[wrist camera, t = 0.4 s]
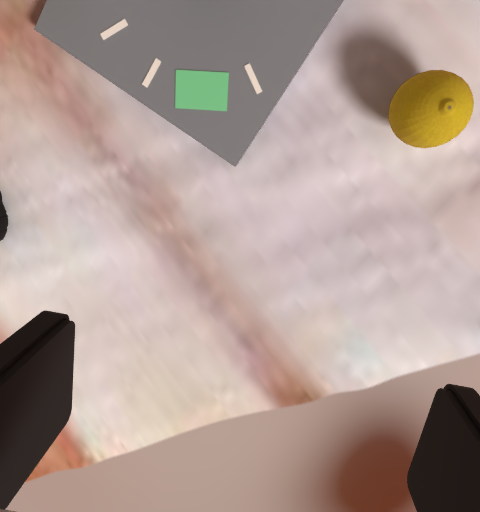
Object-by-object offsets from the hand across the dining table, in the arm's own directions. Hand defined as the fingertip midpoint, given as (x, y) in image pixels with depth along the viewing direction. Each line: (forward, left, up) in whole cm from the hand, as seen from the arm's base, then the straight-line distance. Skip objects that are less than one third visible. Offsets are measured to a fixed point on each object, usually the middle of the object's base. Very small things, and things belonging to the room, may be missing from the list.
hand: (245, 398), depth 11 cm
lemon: (-13, +6, -29) cm, 33 cm away
